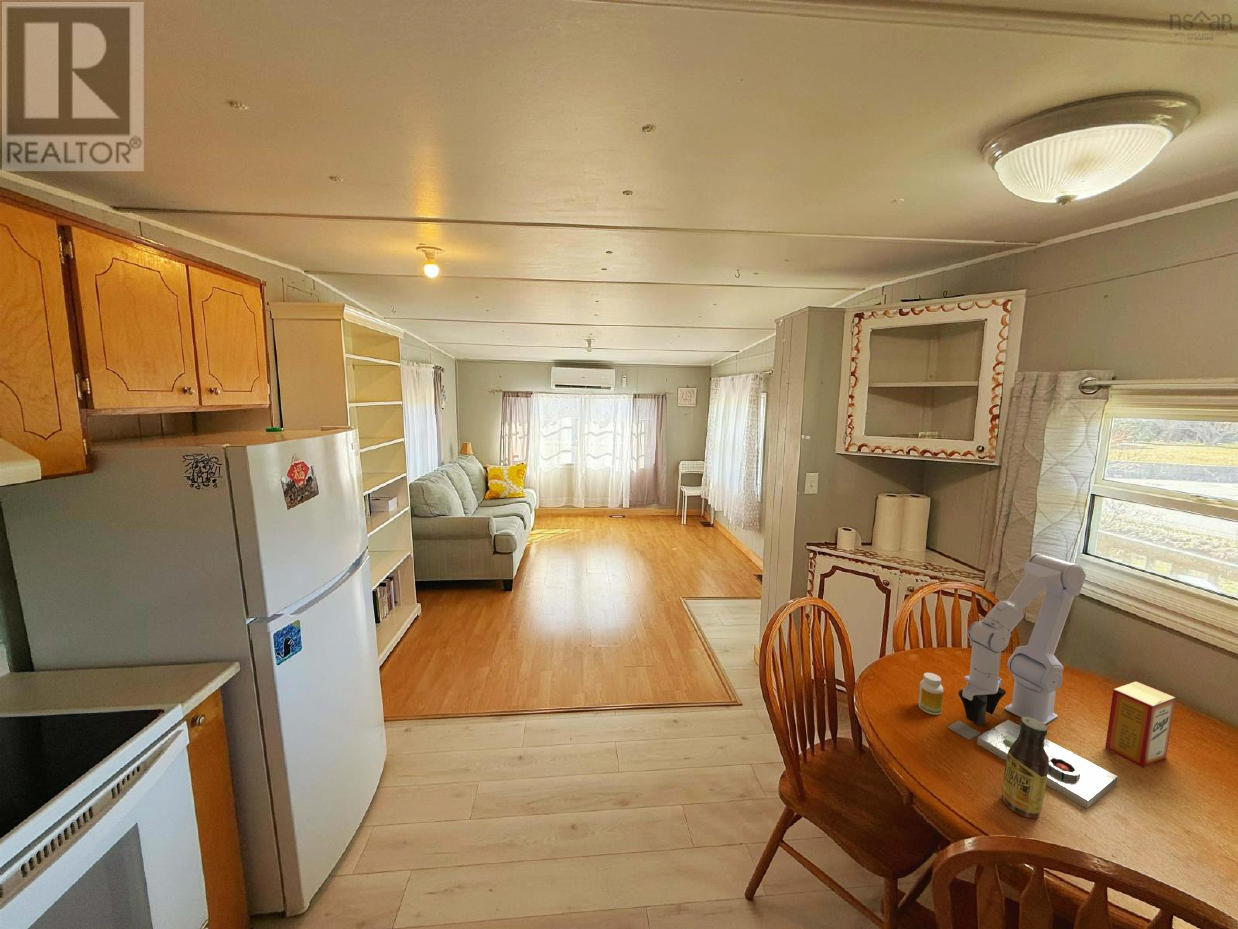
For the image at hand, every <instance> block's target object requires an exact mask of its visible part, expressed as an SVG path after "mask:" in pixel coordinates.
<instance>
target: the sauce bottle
mask: <svg viewBox="0 0 1238 929" xmlns="http://www.w3.org/2000/svg"><path fill="white" fill-rule="evenodd" d="M1019 726H1021V728H1020V734H1019V737H1018V738H1017V740H1016V741H1015V742H1014V743H1013V745H1012V746H1011V748H1010V749H1009V750H1008V755H1007V761H1005V769H1004V772H1003V779H1002V787H1001V798H1002V801H1003V802H1004V805H1006V807H1007V808H1009V809H1010V810H1011V811H1013V812H1015V813H1016V814H1018V815H1019V816H1021V817H1024V818H1029V819H1036V818H1038V817H1039V816H1040V814H1041V812H1042V808H1043V802H1044V797H1045V792H1046V786H1047V785H1046V781H1047V775H1048V766H1049V758H1048V756H1047V754H1046V752H1045V750H1044V739H1046V736H1047V735H1048V726H1047V724H1044V723H1042V722H1040V721H1039V720H1037V719H1034V718H1031V717H1022V718H1021V717H1020V721H1019Z"/></svg>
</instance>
